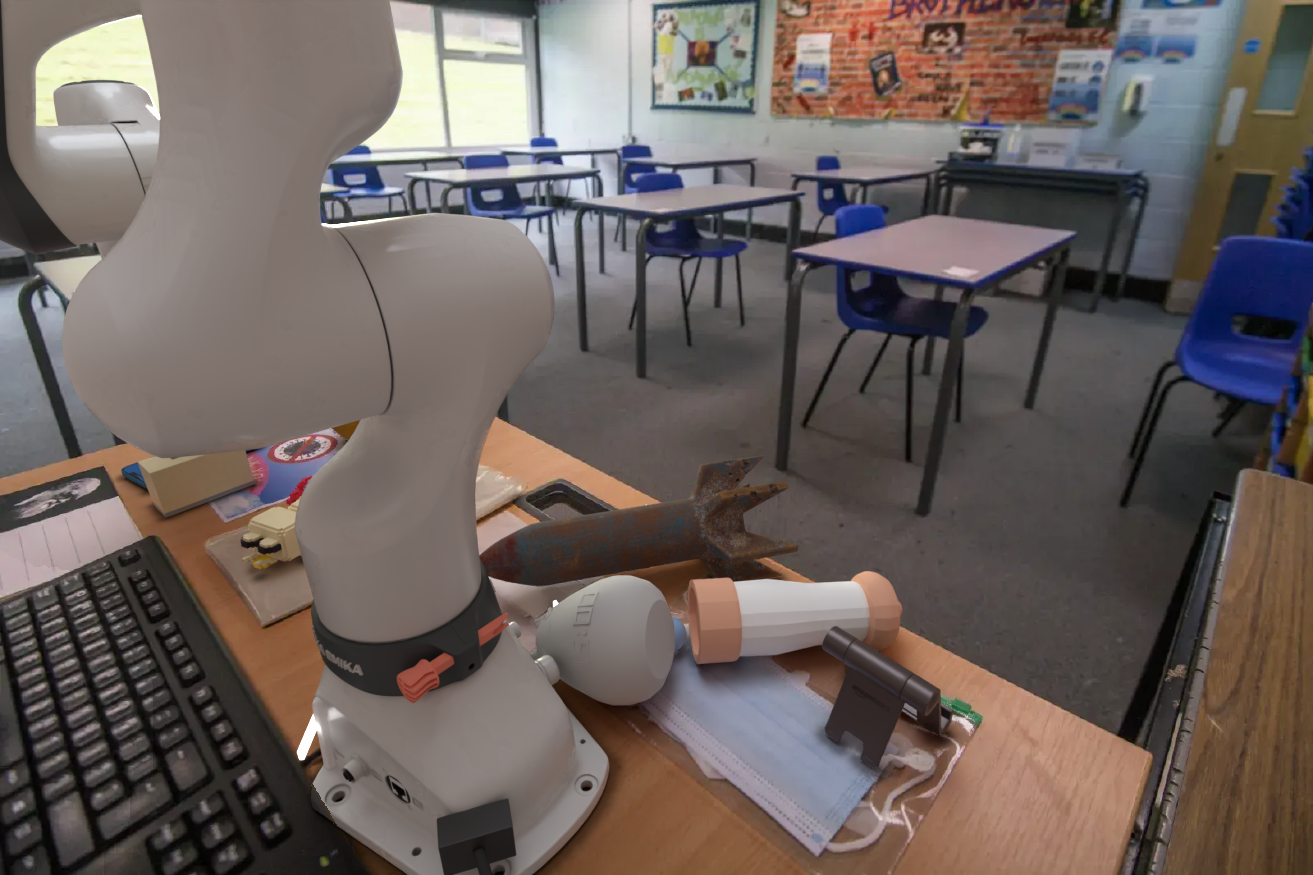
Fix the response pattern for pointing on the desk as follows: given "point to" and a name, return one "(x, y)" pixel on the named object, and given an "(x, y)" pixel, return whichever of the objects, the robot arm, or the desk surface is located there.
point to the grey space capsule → (610, 639)
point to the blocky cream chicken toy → (274, 532)
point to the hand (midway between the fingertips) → (192, 375)
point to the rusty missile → (648, 536)
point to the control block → (194, 479)
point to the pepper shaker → (787, 615)
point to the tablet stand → (878, 697)
